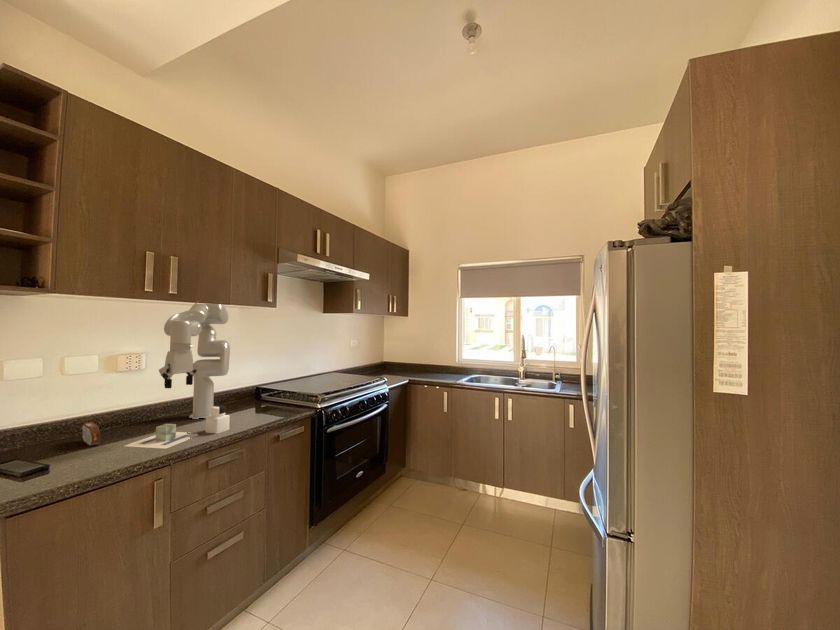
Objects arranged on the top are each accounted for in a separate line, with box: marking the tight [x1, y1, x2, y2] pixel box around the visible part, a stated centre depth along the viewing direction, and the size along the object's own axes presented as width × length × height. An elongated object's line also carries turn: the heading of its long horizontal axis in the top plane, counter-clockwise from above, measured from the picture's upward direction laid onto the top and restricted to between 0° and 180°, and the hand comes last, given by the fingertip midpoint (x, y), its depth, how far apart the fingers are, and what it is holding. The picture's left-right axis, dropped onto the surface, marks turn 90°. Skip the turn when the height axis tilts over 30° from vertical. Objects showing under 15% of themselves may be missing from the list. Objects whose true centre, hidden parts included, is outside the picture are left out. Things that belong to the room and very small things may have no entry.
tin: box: [81, 421, 101, 447], centre depth 142 cm, size 15×3×8 cm, turn 57°
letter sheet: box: [124, 431, 190, 450], centre depth 148 cm, size 20×20×1 cm
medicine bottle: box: [205, 404, 231, 435], centre depth 160 cm, size 7×7×12 cm
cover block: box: [155, 423, 177, 441], centre depth 148 cm, size 5×5×6 cm
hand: (178, 386), depth 148 cm, fingers open, 9 cm apart
